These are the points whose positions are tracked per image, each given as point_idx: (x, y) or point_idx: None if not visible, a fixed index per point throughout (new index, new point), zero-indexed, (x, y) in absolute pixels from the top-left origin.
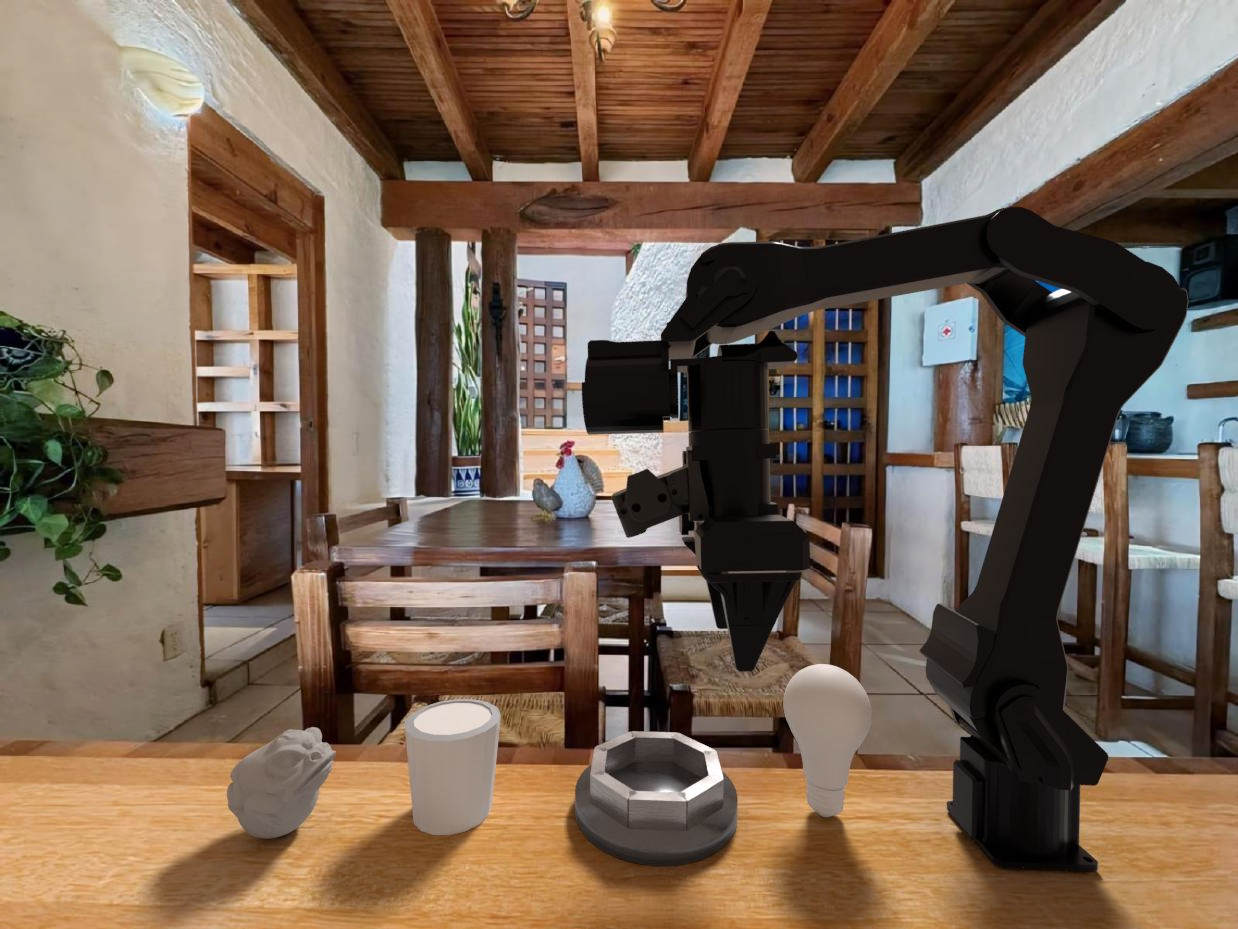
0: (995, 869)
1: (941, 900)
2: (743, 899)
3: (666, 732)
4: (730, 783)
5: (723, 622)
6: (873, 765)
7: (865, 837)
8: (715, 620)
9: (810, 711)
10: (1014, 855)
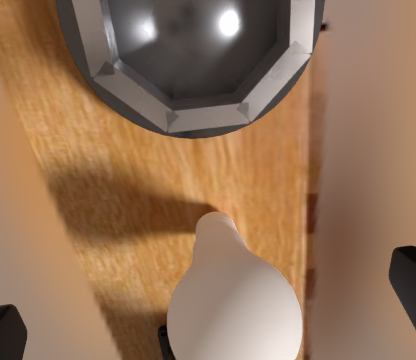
0: (159, 323)
1: (109, 284)
2: (51, 130)
3: (312, 30)
4: (225, 130)
5: (403, 275)
6: (313, 275)
7: (182, 248)
8: (412, 259)
9: (178, 312)
10: (167, 342)
